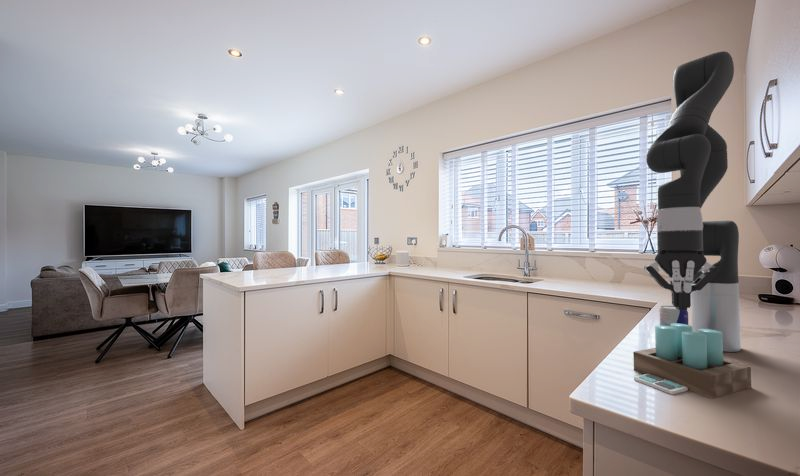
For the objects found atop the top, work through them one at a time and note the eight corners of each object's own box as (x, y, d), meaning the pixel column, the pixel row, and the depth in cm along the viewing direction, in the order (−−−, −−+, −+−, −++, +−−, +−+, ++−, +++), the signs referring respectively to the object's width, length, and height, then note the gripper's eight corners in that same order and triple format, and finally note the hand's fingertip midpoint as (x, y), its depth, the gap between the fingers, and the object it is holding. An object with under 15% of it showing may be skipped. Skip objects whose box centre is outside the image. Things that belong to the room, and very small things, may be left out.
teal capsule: (678, 356, 73) (677, 322, 73) (697, 361, 69) (696, 326, 69) (667, 358, 71) (666, 324, 72) (686, 364, 68) (685, 328, 68)
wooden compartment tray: (670, 362, 76) (669, 345, 76) (751, 387, 62) (750, 366, 63) (633, 369, 72) (633, 351, 72) (712, 398, 58) (711, 376, 59)
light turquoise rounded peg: (690, 367, 66) (689, 330, 66) (711, 374, 63) (710, 335, 63) (678, 370, 65) (677, 332, 65) (700, 377, 62) (699, 337, 62)
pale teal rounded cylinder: (663, 359, 71) (662, 324, 71) (682, 365, 68) (681, 329, 68) (651, 361, 70) (651, 326, 70) (670, 367, 66) (669, 330, 66)
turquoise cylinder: (705, 364, 68) (704, 328, 68) (727, 370, 64) (726, 332, 65) (694, 366, 67) (693, 329, 67) (716, 373, 63) (715, 334, 63)
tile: (648, 376, 68) (648, 372, 68) (687, 390, 62) (687, 386, 62) (633, 379, 67) (633, 375, 67) (672, 394, 60) (672, 390, 60)
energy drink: (695, 361, 76) (693, 310, 76) (668, 360, 77) (667, 309, 77) (680, 353, 81) (679, 305, 81) (655, 352, 82) (654, 305, 83)
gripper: (711, 229, 71) (713, 308, 71) (638, 230, 77) (639, 304, 77) (728, 227, 64) (730, 315, 64) (646, 229, 70) (647, 310, 70)
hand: (681, 309), depth 70 cm, fingers closed
